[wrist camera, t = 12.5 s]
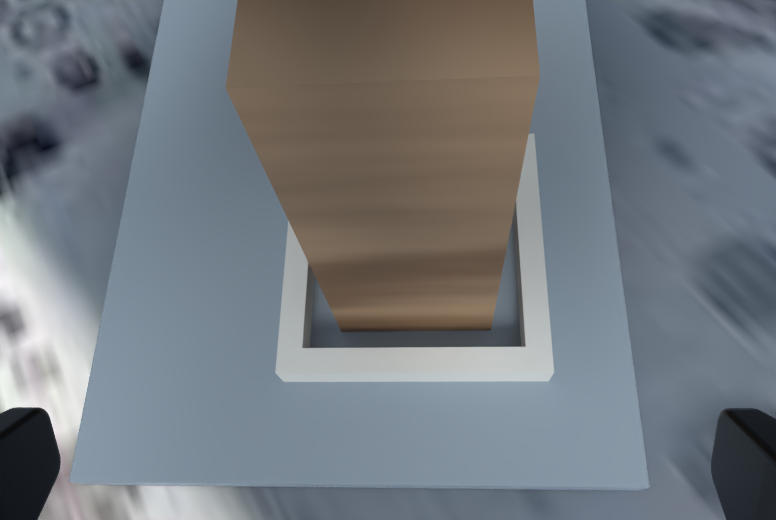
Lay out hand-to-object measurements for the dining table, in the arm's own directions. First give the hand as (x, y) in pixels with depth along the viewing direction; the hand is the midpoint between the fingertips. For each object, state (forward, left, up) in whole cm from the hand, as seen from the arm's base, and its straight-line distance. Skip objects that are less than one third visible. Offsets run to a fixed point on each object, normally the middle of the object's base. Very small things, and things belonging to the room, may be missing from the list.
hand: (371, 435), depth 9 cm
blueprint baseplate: (+5, +12, -13) cm, 18 cm away
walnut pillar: (+4, +7, -12) cm, 15 cm away
